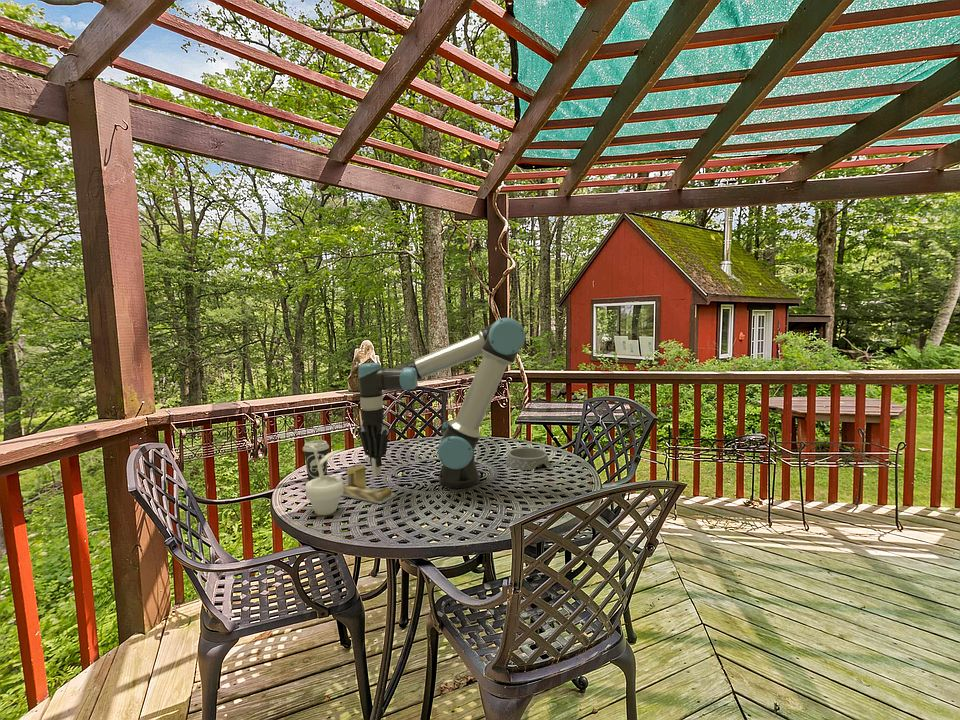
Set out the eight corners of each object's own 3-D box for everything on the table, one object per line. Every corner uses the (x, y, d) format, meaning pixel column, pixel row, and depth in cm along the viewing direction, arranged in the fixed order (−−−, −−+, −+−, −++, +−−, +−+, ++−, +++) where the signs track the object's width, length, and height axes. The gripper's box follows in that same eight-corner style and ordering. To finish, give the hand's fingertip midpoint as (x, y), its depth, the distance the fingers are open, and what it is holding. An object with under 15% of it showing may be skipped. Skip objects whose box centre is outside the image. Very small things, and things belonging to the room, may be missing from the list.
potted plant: (308, 522, 147) (304, 441, 145) (305, 508, 158) (301, 433, 155) (350, 514, 152) (347, 436, 150) (345, 501, 163) (342, 429, 160)
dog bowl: (558, 466, 198) (558, 453, 198) (523, 474, 188) (523, 461, 187) (531, 456, 212) (531, 444, 212) (497, 464, 202) (497, 451, 202)
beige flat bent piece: (393, 493, 167) (393, 486, 167) (378, 501, 160) (378, 494, 160) (356, 486, 175) (356, 479, 175) (340, 493, 168) (340, 486, 168)
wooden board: (395, 496, 167) (395, 493, 167) (380, 504, 160) (380, 501, 160) (358, 488, 175) (358, 485, 175) (342, 495, 168) (342, 492, 168)
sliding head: (366, 487, 173) (365, 466, 172) (354, 492, 167) (353, 471, 167) (357, 485, 174) (356, 465, 174) (346, 490, 169) (345, 470, 169)
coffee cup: (336, 479, 186) (334, 441, 184) (318, 487, 177) (316, 447, 176) (317, 476, 190) (315, 438, 188) (298, 484, 181) (296, 444, 180)
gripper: (394, 407, 165) (398, 474, 167) (365, 405, 171) (369, 470, 173) (379, 411, 158) (384, 481, 160) (350, 409, 164) (355, 476, 167)
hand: (376, 475), depth 167 cm, fingers closed
